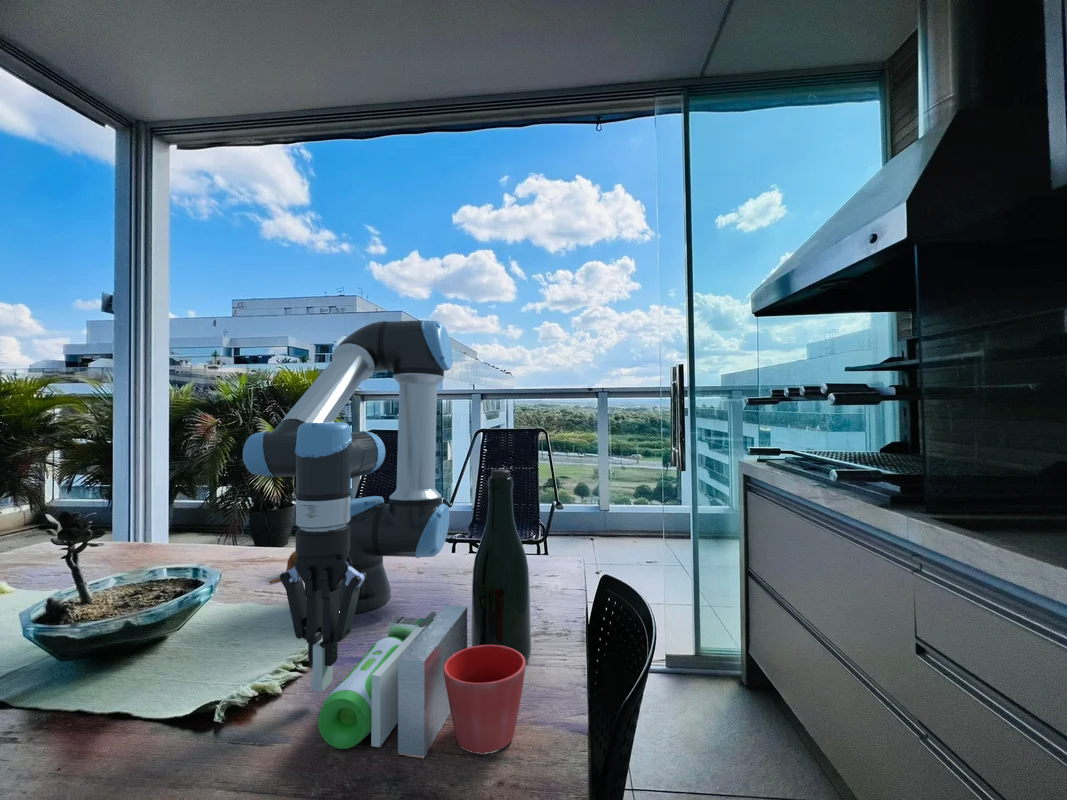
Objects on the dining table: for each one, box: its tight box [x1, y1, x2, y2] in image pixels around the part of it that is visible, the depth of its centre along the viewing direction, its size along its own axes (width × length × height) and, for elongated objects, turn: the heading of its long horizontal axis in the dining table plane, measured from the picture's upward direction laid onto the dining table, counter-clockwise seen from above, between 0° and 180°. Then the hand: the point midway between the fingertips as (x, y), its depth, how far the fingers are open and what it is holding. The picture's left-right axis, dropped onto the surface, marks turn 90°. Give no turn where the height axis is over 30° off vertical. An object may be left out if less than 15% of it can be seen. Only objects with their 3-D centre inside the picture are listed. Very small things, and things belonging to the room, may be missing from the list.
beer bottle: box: [470, 468, 532, 663], centre depth 87 cm, size 10×10×33 cm
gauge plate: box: [370, 611, 437, 748], centre depth 73 cm, size 1×20×9 cm, turn 170°
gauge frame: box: [387, 605, 468, 756], centre depth 73 cm, size 14×20×12 cm
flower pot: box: [443, 645, 527, 753], centre depth 66 cm, size 11×11×10 cm
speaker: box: [317, 636, 404, 750], centre depth 71 cm, size 18×7×8 cm, turn 174°
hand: (322, 685), depth 73 cm, fingers closed
